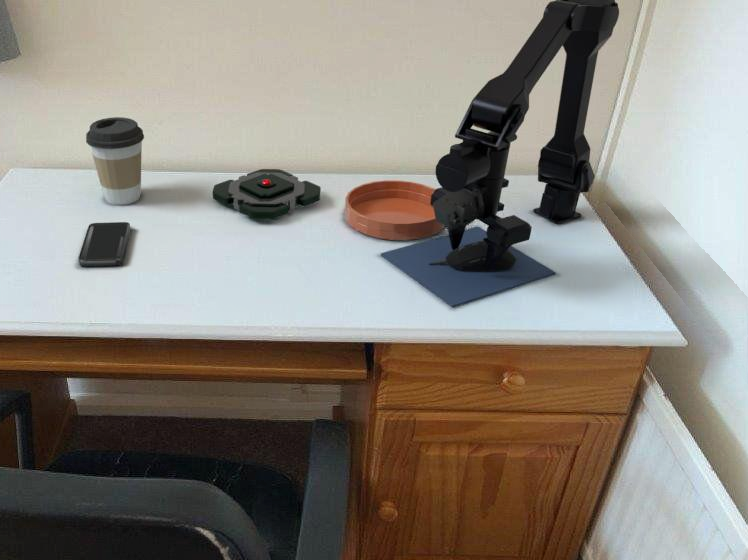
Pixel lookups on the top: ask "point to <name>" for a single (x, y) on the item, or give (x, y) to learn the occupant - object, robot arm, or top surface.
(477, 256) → the gaming mouse
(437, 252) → the mouse mat
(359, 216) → the terracotta plant saucer
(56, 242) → the top surface
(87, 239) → the phone
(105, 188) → the coffee cup
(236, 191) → the clover-shaped pad
